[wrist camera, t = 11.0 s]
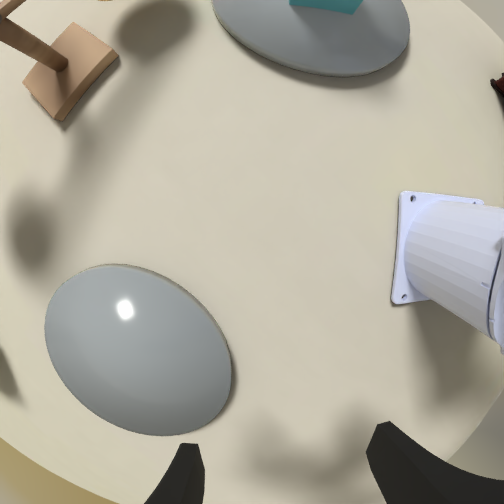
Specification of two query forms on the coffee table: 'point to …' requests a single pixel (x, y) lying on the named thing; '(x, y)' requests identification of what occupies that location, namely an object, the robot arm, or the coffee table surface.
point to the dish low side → (319, 34)
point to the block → (330, 4)
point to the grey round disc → (138, 350)
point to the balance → (57, 62)
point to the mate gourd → (498, 84)
